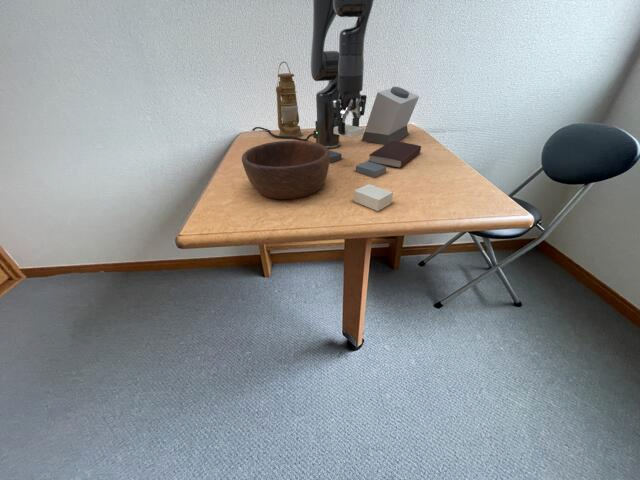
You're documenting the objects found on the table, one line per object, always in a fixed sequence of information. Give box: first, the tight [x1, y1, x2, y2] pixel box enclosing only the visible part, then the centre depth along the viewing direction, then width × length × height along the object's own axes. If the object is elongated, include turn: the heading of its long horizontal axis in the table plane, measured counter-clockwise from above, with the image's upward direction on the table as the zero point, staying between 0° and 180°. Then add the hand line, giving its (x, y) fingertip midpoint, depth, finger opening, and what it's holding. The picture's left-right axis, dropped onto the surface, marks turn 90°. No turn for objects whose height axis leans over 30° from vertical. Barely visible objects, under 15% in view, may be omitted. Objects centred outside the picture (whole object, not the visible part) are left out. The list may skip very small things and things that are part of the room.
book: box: [368, 141, 422, 169], centre depth 101 cm, size 12×19×3 cm, turn 145°
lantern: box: [275, 61, 302, 138], centre depth 125 cm, size 15×10×30 cm
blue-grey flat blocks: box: [329, 149, 387, 178], centre depth 97 cm, size 28×6×2 cm, turn 43°
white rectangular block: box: [353, 183, 394, 212], centre depth 73 cm, size 8×6×3 cm
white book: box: [334, 123, 365, 139], centre depth 91 cm, size 8×6×2 cm
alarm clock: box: [361, 86, 420, 145], centre depth 119 cm, size 20×16×20 cm
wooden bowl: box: [241, 140, 331, 200], centre depth 81 cm, size 25×25×10 cm
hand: (348, 131), depth 91 cm, fingers closed on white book, 6 cm apart
